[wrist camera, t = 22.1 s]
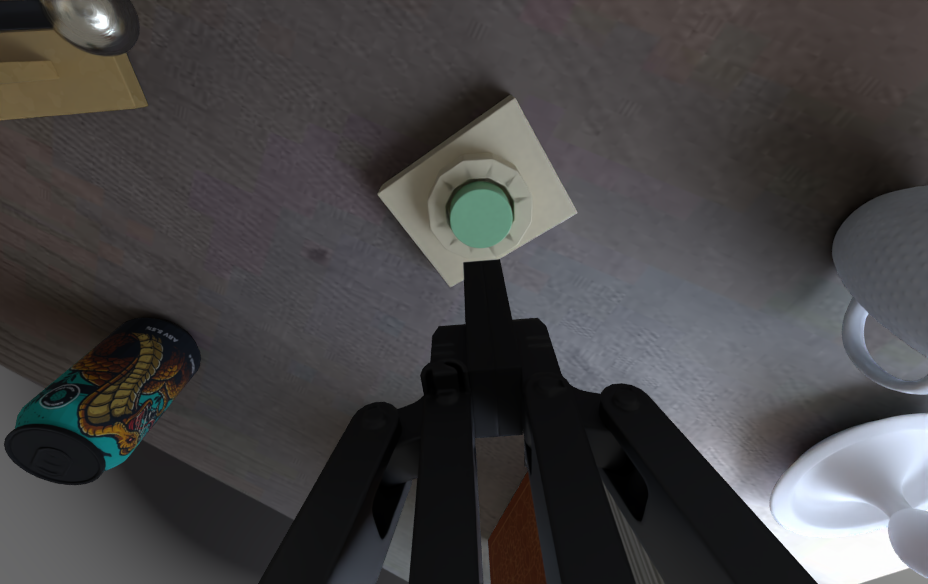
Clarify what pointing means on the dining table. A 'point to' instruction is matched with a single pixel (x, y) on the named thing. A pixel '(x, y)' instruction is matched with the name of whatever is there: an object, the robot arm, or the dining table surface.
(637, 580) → the book
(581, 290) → the dining table surface
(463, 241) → the light button
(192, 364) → the beverage can
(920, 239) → the mug
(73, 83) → the switch bracket
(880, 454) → the candlestick
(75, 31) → the switch lever
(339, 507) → the robot arm
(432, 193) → the switch box
